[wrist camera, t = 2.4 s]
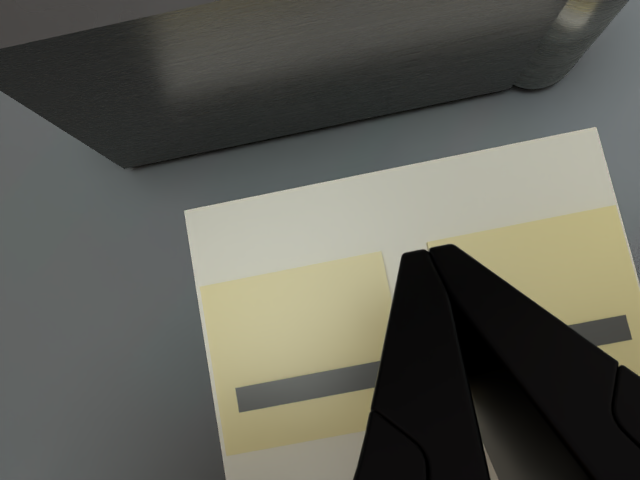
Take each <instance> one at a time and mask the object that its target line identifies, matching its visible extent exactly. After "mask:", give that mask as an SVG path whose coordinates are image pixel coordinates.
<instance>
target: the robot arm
mask: <svg viewBox="0 0 640 480" xmlns="http://www.w3.org/2000/svg"><path fill="white" fill-rule="evenodd" d="M618 366H619V362H618V361H617V360H615V359H614V358H613V357H611V356H610V355H608V354H607V353H606V352H604V351H603V350H601V349H600V348H599V347H597V346H596V345H594V344H593V343H592V342H590V341H589V340H587V339H586V338H585V337H583V336H582V335H580V334H579V333H578V332H576V331H575V330H573V329H572V328H571V327H569V326H568V325H566V324H565V323H564V322H562V321H561V320H559V319H558V318H557V317H555V316H554V315H552V314H551V313H550V312H548V311H547V310H545V309H544V308H543V307H541V306H540V305H538V304H537V303H536V302H534V301H533V300H531V299H530V298H529V297H527V296H526V295H524V294H523V293H522V292H520V291H519V290H517V289H516V288H515V287H513V286H512V285H510V284H509V283H508V282H506V281H505V280H503V279H502V278H501V277H499V276H498V275H496V274H495V273H494V272H492V271H491V270H489V269H488V268H487V267H485V266H484V265H482V264H481V263H480V262H478V261H477V260H475V259H474V258H473V257H471V256H470V255H468V254H467V253H466V252H464V251H463V250H461V249H460V248H459V247H457V246H456V245H454V244H446V245H441V246H435V247H431V248H430V249H429V250H428V251H427V250H425V249H420V250H415V251H410V252H405V253H403V254H402V256H401V260H400V265H399V270H398V275H397V280H396V284H395V289H394V294H393V299H392V304H391V309H390V314H389V319H388V324H387V329H386V334H385V339H384V344H383V349H382V354H381V359H380V364H379V368H378V373H377V378H376V383H375V388H374V393H373V398H372V403H371V412H370V413H369V416H368V421H367V426H366V431H365V436H364V440H363V444H362V448H361V452H360V456H359V460H358V464H357V468H356V471H355V474H354V477H353V480H491V478H490V474H489V470H488V465H487V461H486V456H485V452H484V447H485V449H486V451H487V454H488V456H489V459H490V461H491V463H492V466H493V468H494V470H495V473H496V475H497V477H498V480H640V376H638V375H637V374H635V373H634V372H633V371H631V370H630V369H628V368H627V367H626V366H624V365H620V366H619V367H618ZM482 442H483V443H482ZM483 444H484V447H483Z"/></svg>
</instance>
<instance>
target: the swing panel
mask: <svg viewBox="0 0 640 480" xmlns="http://www.w3.org/2000/svg"><path fill="white" fill-rule="evenodd" d="M628 1H629V0H0V91H2V92H3V93H5V94H7V95H8V96H10V97H11V98H13V99H14V100H16V101H18V102H19V103H21V104H22V105H24V106H26V107H27V108H29V109H30V110H32V111H33V112H35V113H37V114H38V115H40V116H41V117H43V118H45V119H46V120H48V121H49V122H51V123H52V124H54V125H56V126H57V127H59V128H60V129H62V130H64V131H65V132H67V133H68V134H70V135H71V136H73V137H75V138H76V139H78V140H79V141H81V142H83V143H84V144H86V145H87V146H89V147H90V148H92V149H94V150H95V151H97V152H98V153H100V154H102V155H103V156H105V157H106V158H108V159H109V160H111V161H113V162H114V163H116V164H117V165H119V166H121V167H122V168H124V169H126V168H131V167H135V166H140V165H145V164H150V163H155V162H159V161H164V160H169V159H174V158H179V157H184V156H188V155H193V154H198V153H203V152H208V151H212V150H217V149H222V148H227V147H232V146H237V145H241V144H246V143H251V142H256V141H261V140H266V139H270V138H275V137H280V136H285V135H290V134H294V133H299V132H304V131H309V130H314V129H319V128H323V127H328V126H333V125H338V124H343V123H347V122H352V121H357V120H362V119H367V118H372V117H376V116H381V115H386V114H391V113H396V112H400V111H405V110H410V109H415V108H420V107H425V106H429V105H434V104H439V103H444V102H449V101H454V100H458V99H463V98H468V97H473V96H478V95H482V94H487V93H492V92H497V91H502V90H507V89H510V88H511V87H512V85H515V86H517V87H521V88H525V89H540V88H545V87H548V86H551V85H553V84H555V83H557V82H558V81H560V80H561V79H562V78H563V77H564V76H565V75H566V74H567V73H568V72H569V71H570V69H571V68H572V67H573V66H574V65H575V64H576V62H577V61H578V60H579V59H580V58H581V57H582V55H583V54H584V53H585V52H586V51H587V49H588V48H589V47H590V46H591V45H592V44H593V42H594V41H595V40H596V39H597V38H598V36H599V35H600V34H601V33H602V32H603V31H604V29H605V28H606V27H607V26H608V25H609V24H610V22H611V21H612V20H613V19H614V18H615V16H616V15H617V14H618V13H619V12H620V11H621V9H622V8H623V7H624V6H625V5H626V4H627V2H628Z"/></svg>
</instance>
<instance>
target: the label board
mask: <svg viewBox="0 0 640 480" xmlns="http://www.w3.org/2000/svg"><path fill="white" fill-rule="evenodd" d="M184 213H185V220H186V226H187V233H188V239H189V245H190V252H191V258H192V265H193V271H194V277H195V284H196V290H197V297H198V303H199V310H200V316H201V322H202V329H203V335H204V342H205V348H206V354H207V361H208V367H209V374H210V380H211V387H212V393H213V399H214V406H215V412H216V419H217V425H218V432H219V438H220V444H221V451H222V457H223V464H224V470H225V476H226V480H353V477H354V474H355V471H356V468H357V464H358V460H359V456H360V452H361V448H362V444H363V440H364V436H365V431H366V426H367V421H368V416H369V413H370V412H371V403H372V398H373V393H374V388H375V383H376V378H377V373H378V368H379V364H380V359H381V354H382V349H383V344H384V339H385V334H386V329H387V324H388V319H389V314H390V309H391V304H392V299H393V294H394V289H395V284H396V280H397V275H398V270H399V265H400V260H401V256H402V254H403V253H405V252H410V251H415V250H420V249H425V250H427V251H428V250H429V249H430V248H431V247H435V246H441V245H446V244H454V245H456V246H457V247H459V248H460V249H461V250H463V251H464V252H466V253H467V254H468V255H470V256H471V257H473V258H474V259H475V260H477V261H478V262H480V263H481V264H482V265H484V266H485V267H487V268H488V269H489V270H491V271H492V272H494V273H495V274H496V275H498V276H499V277H501V278H502V279H503V280H505V281H506V282H508V283H509V284H510V285H512V286H513V287H515V288H516V289H517V290H519V291H520V292H522V293H523V294H524V295H526V296H527V297H529V298H530V299H531V300H533V301H534V302H536V303H537V304H538V305H540V306H541V307H543V308H544V309H545V310H547V311H548V312H550V313H551V314H552V315H554V316H555V317H557V318H558V319H559V320H561V321H562V322H564V323H565V324H566V325H568V326H569V327H571V328H572V329H573V330H575V331H576V332H578V333H579V334H580V335H582V336H583V337H585V338H586V339H587V340H589V341H590V342H592V343H593V344H594V345H596V346H597V347H599V348H600V349H601V350H603V351H604V352H606V353H607V354H608V355H610V356H611V357H613V358H614V359H615V360H617V361H618V362H619V366H620V365H624V366H626V367H627V368H628V369H630V370H631V371H633V372H634V373H635V374H637V375H638V376H640V283H639V280H638V276H637V272H636V269H635V265H634V262H633V258H632V254H631V251H630V247H629V243H628V240H627V236H626V233H625V229H624V225H623V222H622V218H621V215H620V211H619V207H618V204H617V200H616V196H615V193H614V189H613V186H612V182H611V178H610V175H609V171H608V167H607V164H606V160H605V157H604V153H603V149H602V146H601V142H600V139H599V135H598V131H597V128H596V127H593V128H588V129H583V130H578V131H573V132H569V133H564V134H559V135H554V136H549V137H544V138H539V139H534V140H529V141H524V142H519V143H514V144H509V145H505V146H500V147H495V148H490V149H485V150H480V151H475V152H470V153H465V154H460V155H455V156H450V157H445V158H441V159H436V160H431V161H426V162H421V163H416V164H411V165H406V166H401V167H396V168H391V169H386V170H381V171H377V172H372V173H367V174H362V175H357V176H352V177H347V178H342V179H337V180H332V181H327V182H322V183H317V184H313V185H308V186H303V187H298V188H293V189H288V190H283V191H278V192H273V193H268V194H263V195H258V196H253V197H249V198H244V199H239V200H234V201H229V202H224V203H219V204H214V205H209V206H204V207H199V208H194V209H189V210H185V211H184ZM619 366H618V367H619ZM482 443H483V442H482ZM483 447H484V444H483ZM484 452H485V456H486V461H487V465H488V470H489V474H490V478H491V480H498V477H497V475H496V473H495V470H494V468H493V466H492V463H491V461H490V459H489V456H488V454H487V451H486V449H485V447H484Z"/></svg>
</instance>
